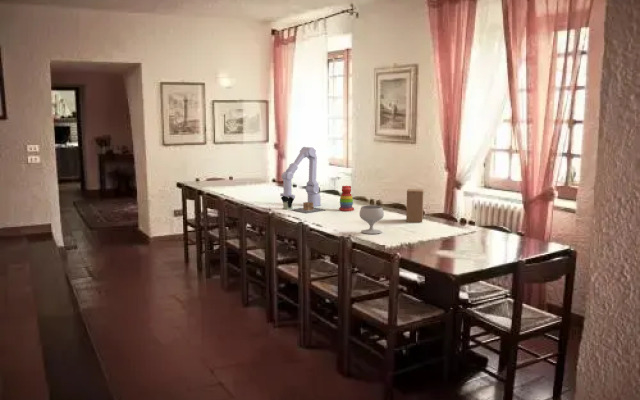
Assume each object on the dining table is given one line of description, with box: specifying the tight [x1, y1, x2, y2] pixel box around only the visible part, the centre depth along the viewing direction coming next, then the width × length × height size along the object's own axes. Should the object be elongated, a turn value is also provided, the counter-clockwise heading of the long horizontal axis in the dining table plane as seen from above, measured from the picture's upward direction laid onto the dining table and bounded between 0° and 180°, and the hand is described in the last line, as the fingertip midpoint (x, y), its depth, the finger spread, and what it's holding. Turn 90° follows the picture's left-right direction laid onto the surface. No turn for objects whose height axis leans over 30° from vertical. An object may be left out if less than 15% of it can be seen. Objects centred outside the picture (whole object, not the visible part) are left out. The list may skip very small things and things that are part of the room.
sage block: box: [282, 201, 293, 211], centre depth 407 cm, size 4×4×5 cm
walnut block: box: [302, 201, 314, 210], centre depth 400 cm, size 5×5×5 cm
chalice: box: [359, 204, 385, 235], centre depth 325 cm, size 14×14×15 cm
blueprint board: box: [291, 206, 326, 214], centre depth 401 cm, size 18×16×1 cm
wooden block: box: [405, 188, 424, 223], centre depth 359 cm, size 10×10×20 cm
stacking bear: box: [338, 185, 355, 212], centre depth 399 cm, size 11×10×18 cm
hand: (287, 207), depth 407 cm, fingers closed on sage block, 4 cm apart
